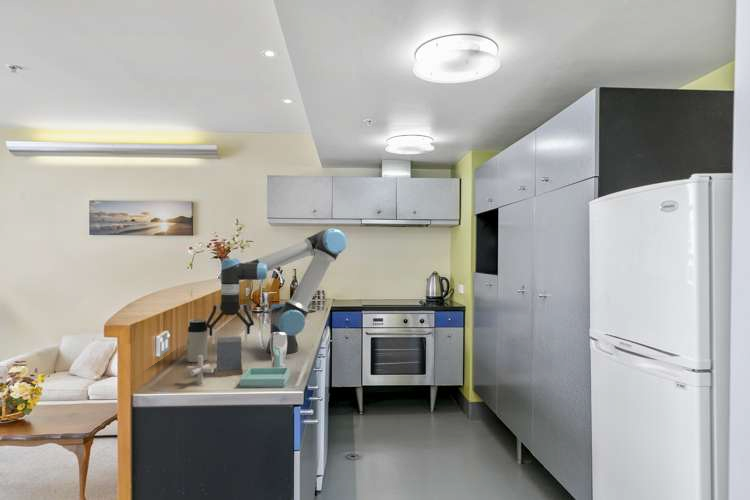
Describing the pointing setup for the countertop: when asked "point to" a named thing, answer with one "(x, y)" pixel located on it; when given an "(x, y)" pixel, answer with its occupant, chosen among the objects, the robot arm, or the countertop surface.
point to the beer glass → (278, 349)
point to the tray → (265, 377)
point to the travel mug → (197, 340)
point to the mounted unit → (229, 357)
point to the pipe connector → (200, 369)
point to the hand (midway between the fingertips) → (229, 342)
